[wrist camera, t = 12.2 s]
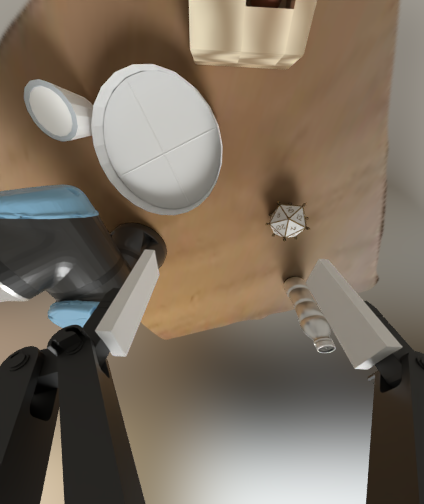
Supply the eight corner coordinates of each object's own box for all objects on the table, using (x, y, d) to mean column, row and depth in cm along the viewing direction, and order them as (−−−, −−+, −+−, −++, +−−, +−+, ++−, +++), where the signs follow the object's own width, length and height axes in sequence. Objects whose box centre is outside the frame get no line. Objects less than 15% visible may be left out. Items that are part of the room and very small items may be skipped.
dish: (151, 220, 41) (144, 229, 37) (79, 113, 29) (57, 111, 25) (237, 185, 36) (239, 192, 32) (191, 37, 24) (185, 18, 20)
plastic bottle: (287, 272, 50) (320, 340, 34) (308, 276, 50) (350, 344, 34) (278, 286, 54) (304, 353, 37) (297, 289, 54) (331, 357, 38)
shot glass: (84, 81, 27) (48, 68, 21) (111, 131, 31) (87, 132, 25) (52, 99, 28) (10, 91, 22) (82, 145, 32) (52, 148, 26)
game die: (275, 215, 43) (268, 249, 40) (265, 192, 37) (256, 231, 34) (315, 211, 38) (311, 251, 35) (312, 184, 31) (306, 230, 28)
